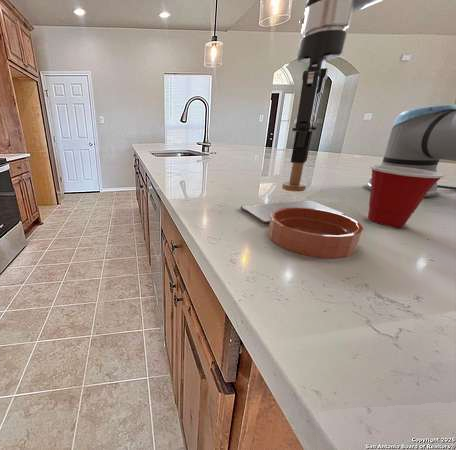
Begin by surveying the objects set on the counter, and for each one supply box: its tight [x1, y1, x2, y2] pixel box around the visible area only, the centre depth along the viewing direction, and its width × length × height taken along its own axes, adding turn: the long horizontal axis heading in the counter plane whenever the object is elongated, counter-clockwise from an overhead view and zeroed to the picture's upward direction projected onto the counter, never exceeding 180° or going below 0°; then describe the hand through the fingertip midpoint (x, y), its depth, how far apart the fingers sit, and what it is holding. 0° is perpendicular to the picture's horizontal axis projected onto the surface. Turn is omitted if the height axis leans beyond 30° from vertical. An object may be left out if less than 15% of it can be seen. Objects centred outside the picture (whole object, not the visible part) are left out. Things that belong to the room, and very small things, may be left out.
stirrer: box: [281, 113, 317, 193], centre depth 54 cm, size 5×5×17 cm
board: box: [240, 199, 346, 225], centre depth 60 cm, size 20×11×1 cm, turn 99°
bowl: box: [267, 208, 364, 259], centre depth 46 cm, size 14×14×4 cm
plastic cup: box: [367, 164, 445, 229], centre depth 51 cm, size 11×11×12 cm
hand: (298, 161), depth 55 cm, fingers closed on stirrer, 2 cm apart
